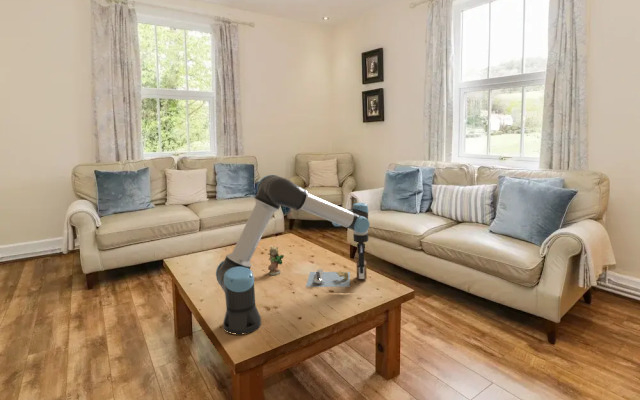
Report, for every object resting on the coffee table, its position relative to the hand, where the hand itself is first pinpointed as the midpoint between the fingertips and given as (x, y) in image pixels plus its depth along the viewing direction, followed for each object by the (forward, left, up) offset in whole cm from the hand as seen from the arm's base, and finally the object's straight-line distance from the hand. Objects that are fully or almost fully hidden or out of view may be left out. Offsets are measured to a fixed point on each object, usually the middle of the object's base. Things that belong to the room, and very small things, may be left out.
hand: (361, 276), depth 193 cm
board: (-1, +17, -2) cm, 17 cm away
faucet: (-1, +22, -1) cm, 22 cm away
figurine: (+9, +47, -2) cm, 48 cm away
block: (0, 0, -1) cm, 1 cm away
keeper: (-1, +10, -2) cm, 10 cm away
